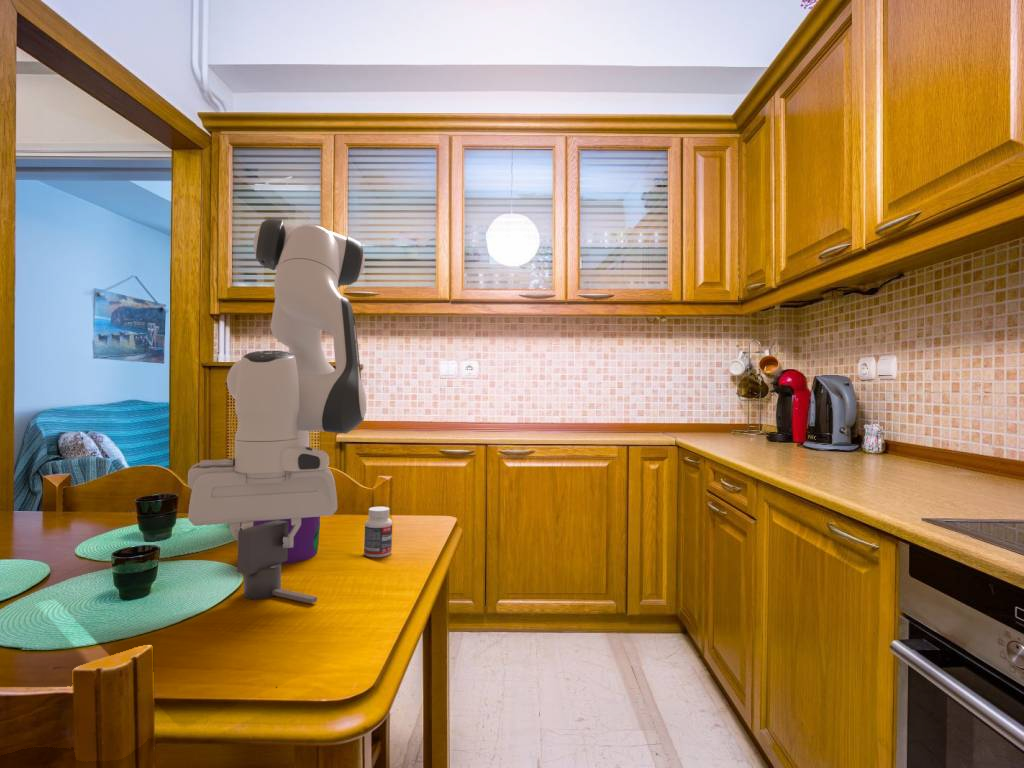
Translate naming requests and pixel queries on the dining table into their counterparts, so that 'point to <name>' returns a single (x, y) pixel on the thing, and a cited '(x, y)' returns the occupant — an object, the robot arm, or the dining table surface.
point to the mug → (301, 539)
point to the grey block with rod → (265, 561)
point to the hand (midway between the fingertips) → (266, 548)
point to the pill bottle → (378, 533)
